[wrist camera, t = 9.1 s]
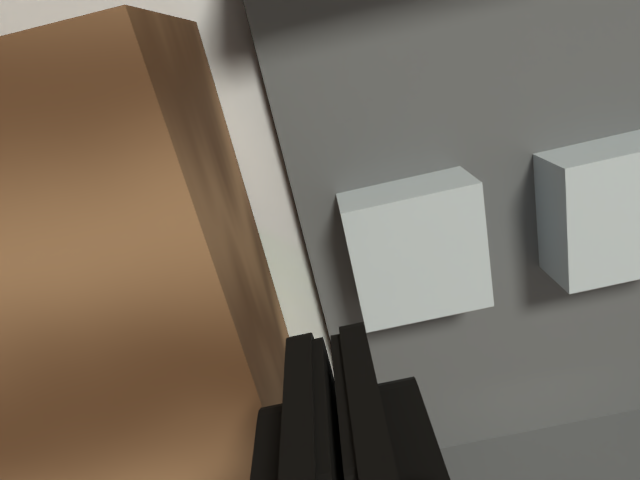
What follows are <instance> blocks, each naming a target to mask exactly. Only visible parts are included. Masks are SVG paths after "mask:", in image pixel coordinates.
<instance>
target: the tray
mask: <svg viewBox="0 0 640 480" xmlns="http://www.w3.org/2000/svg"><path fill="white" fill-rule="evenodd" d="M243 3H244V7H245V10H246V14H247V18H248V22H249V26H250V30H251V34H252V38H253V41H254V45H255V49H256V53H257V57H258V61H259V65H260V69H261V73H262V76H263V80H264V84H265V88H266V92H267V96H268V100H269V104H270V108H271V111H272V115H273V119H274V123H275V127H276V131H277V135H278V139H279V142H280V146H281V150H282V154H283V158H284V162H285V166H286V170H287V174H288V177H289V181H290V185H291V189H292V193H293V197H294V201H295V205H296V209H297V212H298V216H299V220H300V224H301V228H302V232H303V236H304V240H305V243H306V247H307V251H308V255H309V259H310V263H311V267H312V271H313V275H314V278H315V282H316V286H317V290H318V294H319V298H320V302H321V306H322V309H323V313H324V317H325V321H326V325H327V329H328V333H329V337H330V336H331V335H335V334H340V333H339V327H340V326H345V325H349V324H354V323H359V322H364V320H363V316H362V311H361V307H360V303H359V298H358V293H357V289H356V284H355V280H354V275H353V271H352V266H351V261H350V257H349V252H348V248H347V243H346V238H345V234H344V229H343V225H342V220H341V215H340V211H339V206H338V202H337V197H336V194H337V193H342V192H346V191H350V190H355V189H359V188H364V187H368V186H373V185H377V184H382V183H386V182H391V181H395V180H400V179H404V178H409V177H413V176H418V175H422V174H426V173H431V172H435V171H440V170H444V169H449V168H453V167H458V166H461V167H462V168H464V169H465V170H466V171H468V172H469V173H470V174H472V175H473V176H474V177H476V178H477V179H478V180H480V181H481V182H482V185H483V195H484V206H485V216H486V226H487V237H488V247H489V257H490V267H491V278H492V288H493V298H494V306H493V307H488V308H483V309H478V310H474V311H469V312H464V313H459V314H454V315H450V316H445V317H440V318H435V319H430V320H426V321H421V322H416V323H411V324H406V325H402V326H397V327H392V328H387V329H383V330H378V331H373V332H368V333H366V334H367V339H368V343H369V348H370V352H371V356H372V361H373V365H374V370H375V374H376V379H377V383H378V384H379V383H384V382H389V381H394V380H399V379H404V378H409V377H413V376H414V377H415V379H416V381H417V384H418V387H419V390H420V393H421V395H422V398H423V401H424V404H425V407H426V410H427V413H428V416H429V419H430V422H431V425H432V427H433V430H434V433H435V436H436V439H437V442H438V445H439V448H440V451H441V454H442V457H443V459H444V462H445V465H446V468H447V471H448V474H449V477H450V480H640V279H639V280H634V281H629V282H625V283H620V284H615V285H611V286H606V287H601V288H597V289H592V290H587V291H582V292H578V293H573V294H569V293H568V292H566V291H565V290H564V289H563V288H562V287H561V286H560V285H559V284H558V283H557V282H556V281H554V280H553V279H552V278H551V277H550V276H549V275H548V274H547V273H546V272H545V271H544V270H543V269H541V268H540V267H539V252H538V235H537V218H536V202H535V185H534V168H533V154H535V153H539V152H543V151H548V150H552V149H556V148H561V147H565V146H570V145H574V144H578V143H583V142H587V141H591V140H596V139H600V138H605V137H609V136H613V135H618V134H622V133H627V132H631V131H635V130H640V0H243ZM365 330H366V329H365ZM330 341H331V339H330Z"/></svg>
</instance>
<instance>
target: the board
mask: <svg viewBox="0 0 640 480" xmlns="http://www.w3.org/2000/svg"><path fill="white" fill-rule="evenodd" d="M288 337H289V335H288V332H287V328H286V325H285V321H284V318H283V315H282V311H281V308H280V304H279V301H278V298H277V294H276V291H275V287H274V284H273V281H272V277H271V274H270V270H269V267H268V264H267V260H266V257H265V254H264V250H263V247H262V243H261V240H260V237H259V233H258V230H257V226H256V223H255V220H254V216H253V213H252V209H251V206H250V203H249V199H248V196H247V193H246V189H245V186H244V182H243V179H242V176H241V172H240V169H239V165H238V162H237V159H236V155H235V152H234V148H233V145H232V142H231V138H230V135H229V131H228V128H227V125H226V121H225V118H224V115H223V111H222V108H221V104H220V101H219V98H218V94H217V91H216V87H215V84H214V81H213V77H212V74H211V70H210V67H209V64H208V60H207V57H206V54H205V50H204V47H203V43H202V40H201V37H200V33H199V30H198V26H197V23H196V22H194V21H190V20H186V19H182V18H178V17H174V16H170V15H165V14H161V13H157V12H153V11H149V10H145V9H140V8H136V7H132V6H128V5H122V6H118V7H114V8H110V9H106V10H102V11H98V12H94V13H90V14H86V15H83V16H79V17H75V18H71V19H67V20H63V21H59V22H55V23H51V24H47V25H43V26H39V27H35V28H31V29H27V30H23V31H19V32H15V33H12V34H8V35H4V36H0V480H250V473H251V465H252V457H253V449H254V440H255V432H256V424H257V416H258V411H259V409H260V408H262V407H267V406H272V405H276V404H281V403H282V399H283V381H284V363H285V345H286V338H288Z"/></svg>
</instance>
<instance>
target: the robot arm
mask: <svg viewBox="0 0 640 480" xmlns="http://www.w3.org/2000/svg"><path fill="white" fill-rule="evenodd" d="M339 333H340V334H335V335H331V336H330V339H331V349H332V360H333V370H334V377H333V373H332V369H331V366H330V362H329V358H328V354H327V350H326V346H325V343H324V339H323V337H321V338H316V339H314V337H313V334H312V333H307V334H302V335H297V336H293V337H288V338H286V345H285V363H284V381H283V399H282V403H281V404H276V405H272V406H267V407H262V408H260V409H259V411H258V416H257V424H256V432H255V440H254V449H253V457H252V465H251V473H250V480H450V477H449V474H448V471H447V468H446V465H445V462H444V459H443V457H442V454H441V451H440V448H439V445H438V442H437V439H436V436H435V433H434V430H433V427H432V425H431V422H430V419H429V416H428V413H427V410H426V407H425V404H424V401H423V398H422V395H421V393H420V390H419V387H418V384H417V381H416V379H415V377H414V376H413V377H409V378H404V379H399V380H394V381H389V382H384V383H379V384H378V383H377V379H376V374H375V370H374V365H373V361H372V356H371V352H370V348H369V343H368V339H367V334H366V330H365V325H364V322H359V323H354V324H349V325H345V326H340V327H339ZM334 380H335V381H334Z"/></svg>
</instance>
